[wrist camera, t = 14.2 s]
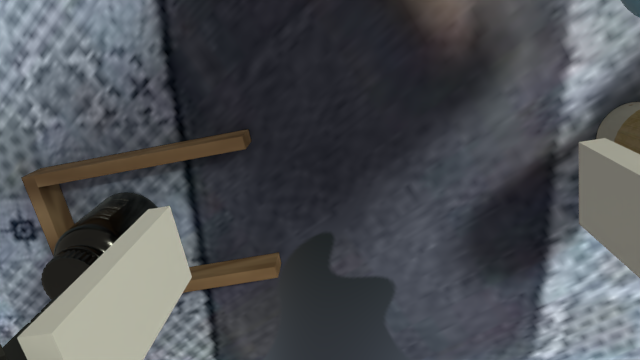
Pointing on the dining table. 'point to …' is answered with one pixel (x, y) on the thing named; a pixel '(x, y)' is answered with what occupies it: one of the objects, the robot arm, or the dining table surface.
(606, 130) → the coffee cup
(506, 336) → the dining table surface
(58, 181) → the bay
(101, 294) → the robot arm
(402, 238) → the dining table surface
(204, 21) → the dining table surface
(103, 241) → the supplement bottle
